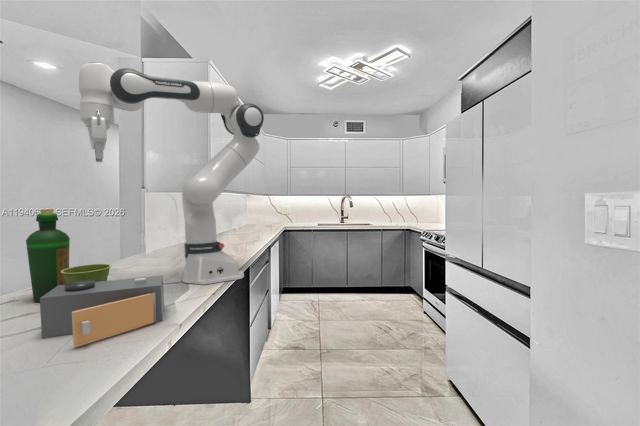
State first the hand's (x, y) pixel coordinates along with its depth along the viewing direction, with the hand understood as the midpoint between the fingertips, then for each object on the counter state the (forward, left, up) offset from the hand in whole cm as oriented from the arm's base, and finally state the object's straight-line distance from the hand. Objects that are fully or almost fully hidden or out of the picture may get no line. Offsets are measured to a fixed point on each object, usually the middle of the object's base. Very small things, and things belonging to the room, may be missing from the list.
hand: (99, 160), depth 104 cm
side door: (-10, +39, -43) cm, 59 cm away
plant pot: (+2, +12, -43) cm, 45 cm away
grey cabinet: (-6, +28, -43) cm, 52 cm away
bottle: (+15, -3, -43) cm, 46 cm away
